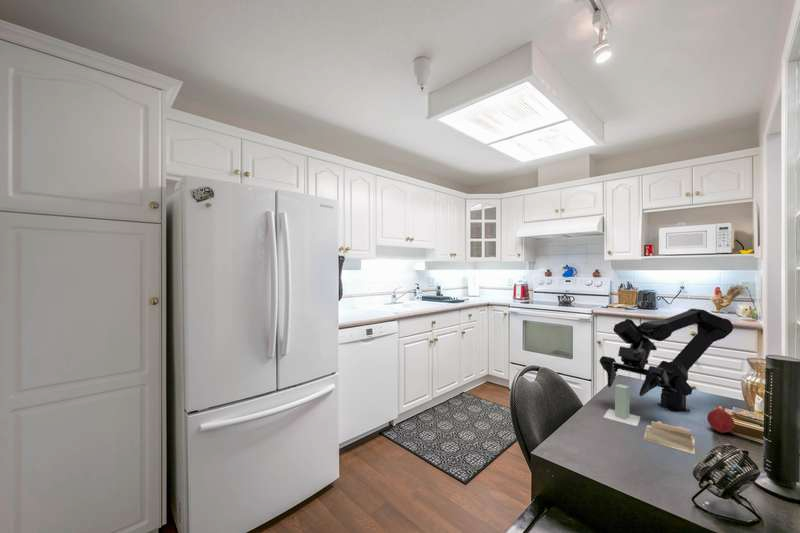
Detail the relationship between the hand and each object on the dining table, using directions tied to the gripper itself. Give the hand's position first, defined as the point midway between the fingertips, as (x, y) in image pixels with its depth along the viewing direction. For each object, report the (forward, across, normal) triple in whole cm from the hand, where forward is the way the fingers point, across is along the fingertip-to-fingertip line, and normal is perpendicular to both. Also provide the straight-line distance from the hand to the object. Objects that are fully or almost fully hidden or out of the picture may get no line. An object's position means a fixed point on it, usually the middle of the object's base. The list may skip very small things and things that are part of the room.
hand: (624, 390), depth 109 cm
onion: (-3, +20, +16) cm, 26 cm away
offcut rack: (+10, +14, +3) cm, 17 cm away
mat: (+7, 0, +6) cm, 9 cm away
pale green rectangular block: (+6, 0, +5) cm, 8 cm away
